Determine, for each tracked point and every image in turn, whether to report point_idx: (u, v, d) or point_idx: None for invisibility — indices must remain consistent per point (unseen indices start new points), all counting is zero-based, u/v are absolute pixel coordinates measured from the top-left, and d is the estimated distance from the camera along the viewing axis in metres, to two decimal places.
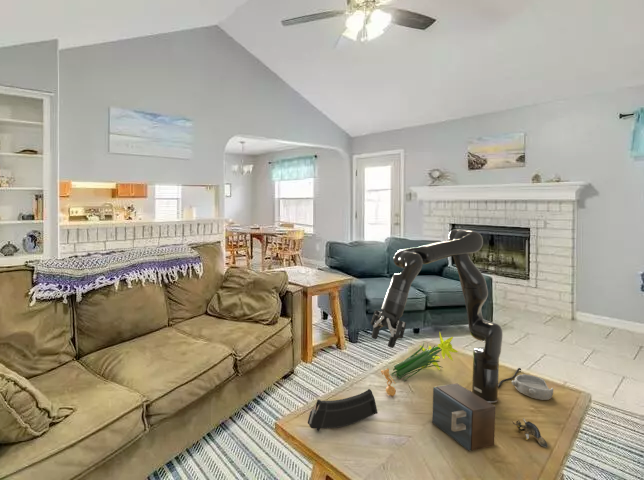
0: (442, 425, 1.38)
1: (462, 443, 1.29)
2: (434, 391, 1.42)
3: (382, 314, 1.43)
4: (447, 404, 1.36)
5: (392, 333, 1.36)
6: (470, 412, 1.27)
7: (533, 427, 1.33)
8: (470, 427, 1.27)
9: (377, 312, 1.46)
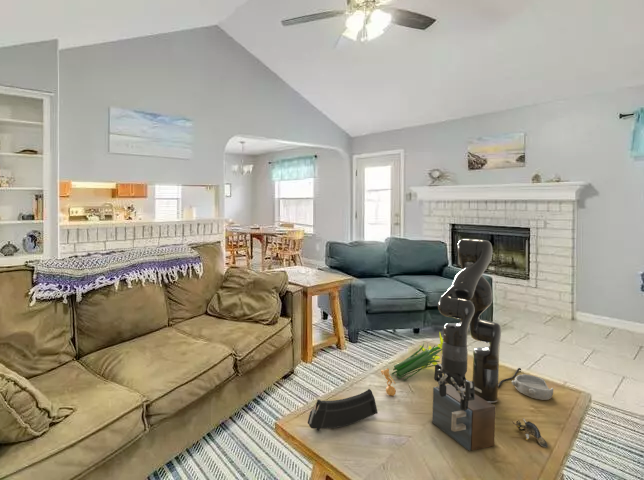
0: (442, 425, 1.38)
1: (462, 443, 1.29)
2: (434, 391, 1.42)
3: (444, 370, 1.29)
4: (447, 404, 1.36)
5: (461, 395, 1.22)
6: (470, 412, 1.27)
7: (533, 427, 1.33)
8: (470, 427, 1.27)
9: (438, 367, 1.32)
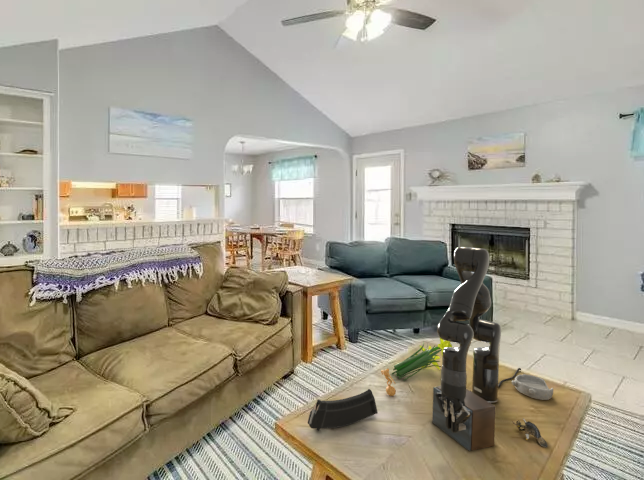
0: (442, 425, 1.38)
1: (462, 443, 1.29)
2: (434, 391, 1.42)
3: (443, 394, 1.30)
4: None
5: (453, 418, 1.25)
6: None
7: (533, 427, 1.33)
8: (470, 427, 1.27)
9: (438, 394, 1.32)
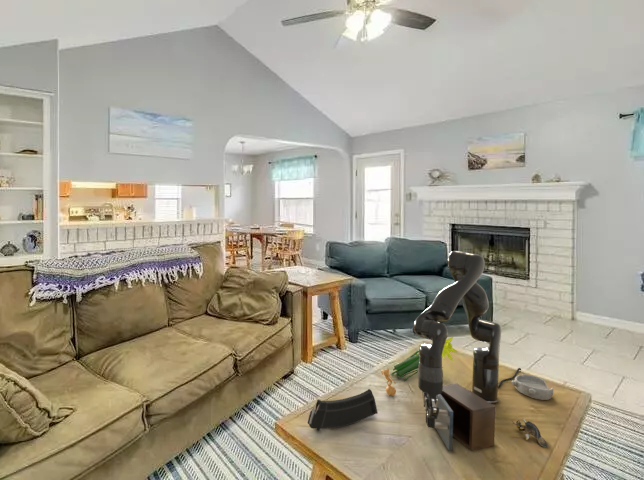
0: None
1: (446, 443, 1.29)
2: None
3: None
4: (439, 404, 1.36)
5: (427, 413, 1.28)
6: (451, 412, 1.27)
7: (533, 427, 1.33)
8: (451, 427, 1.27)
9: None
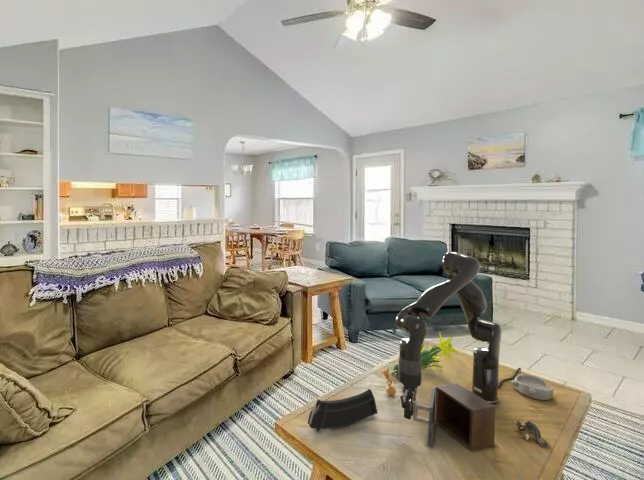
0: None
1: None
2: None
3: None
4: None
5: None
6: (430, 408, 1.29)
7: (533, 427, 1.33)
8: (430, 423, 1.29)
9: None
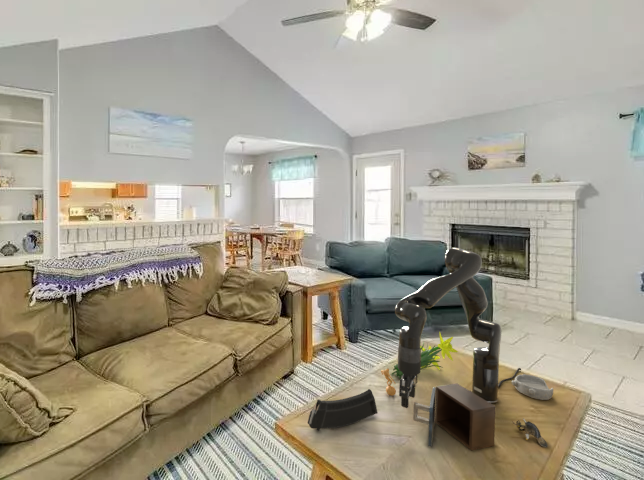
0: None
1: None
2: None
3: None
4: None
5: None
6: (430, 408, 1.29)
7: (533, 427, 1.33)
8: (430, 423, 1.29)
9: None
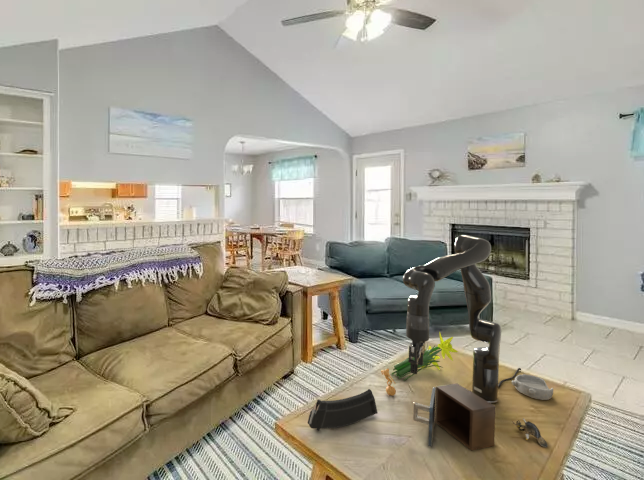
0: None
1: None
2: None
3: None
4: None
5: None
6: (430, 408, 1.29)
7: (533, 427, 1.33)
8: (430, 423, 1.29)
9: None
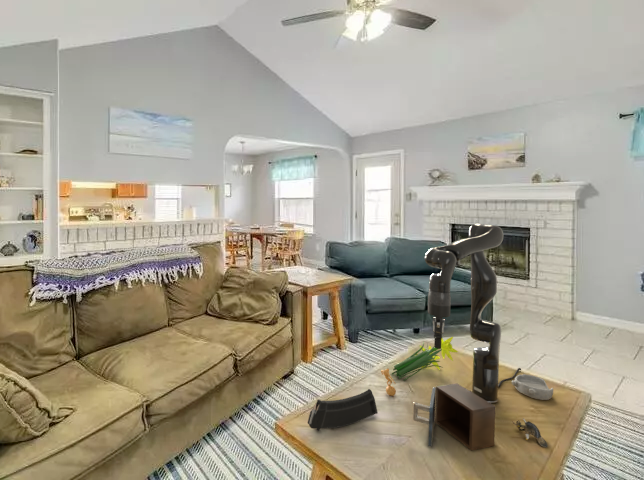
0: None
1: None
2: None
3: None
4: None
5: None
6: (430, 408, 1.29)
7: (533, 427, 1.33)
8: (430, 423, 1.29)
9: None
